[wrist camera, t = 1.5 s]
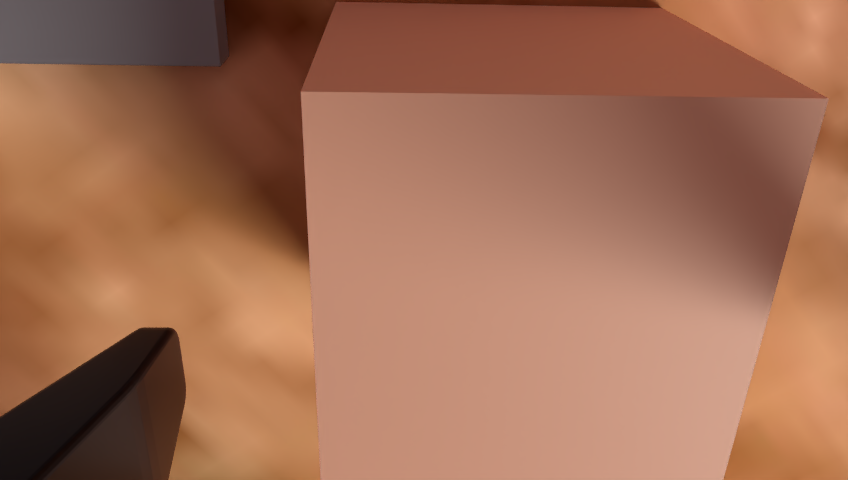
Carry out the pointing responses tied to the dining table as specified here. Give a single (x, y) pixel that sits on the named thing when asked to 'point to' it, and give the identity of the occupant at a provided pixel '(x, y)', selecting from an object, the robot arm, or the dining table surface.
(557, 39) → the cube
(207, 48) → the mat
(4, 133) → the dining table surface
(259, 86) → the dining table surface
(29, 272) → the dining table surface
